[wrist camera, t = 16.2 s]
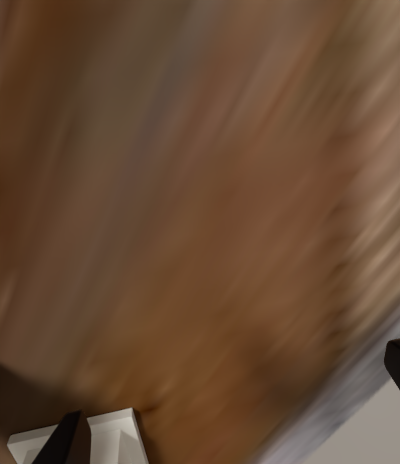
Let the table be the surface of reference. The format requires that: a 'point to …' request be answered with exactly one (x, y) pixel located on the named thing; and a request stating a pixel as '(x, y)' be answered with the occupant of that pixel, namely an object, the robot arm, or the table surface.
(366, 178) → the table surface
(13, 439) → the socket
